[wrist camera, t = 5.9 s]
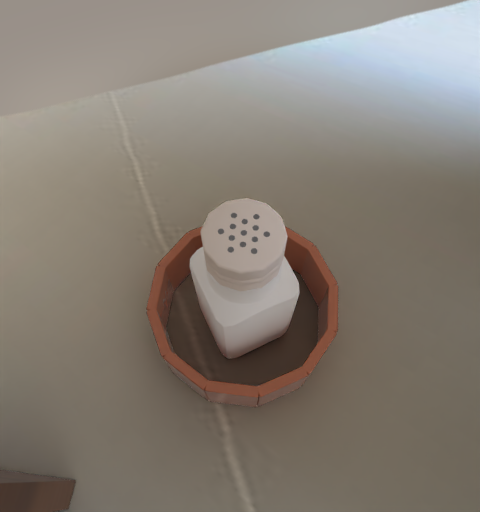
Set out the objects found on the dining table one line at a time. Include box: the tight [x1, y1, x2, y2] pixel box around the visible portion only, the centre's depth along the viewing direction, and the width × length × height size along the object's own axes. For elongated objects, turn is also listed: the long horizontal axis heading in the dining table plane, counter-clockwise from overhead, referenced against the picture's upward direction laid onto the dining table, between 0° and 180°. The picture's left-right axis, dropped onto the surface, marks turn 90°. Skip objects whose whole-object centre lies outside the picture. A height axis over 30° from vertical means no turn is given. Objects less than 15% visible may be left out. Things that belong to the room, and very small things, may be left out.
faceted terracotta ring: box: [146, 226, 338, 407], centre depth 22 cm, size 9×9×3 cm
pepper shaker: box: [190, 198, 299, 359], centre depth 20 cm, size 4×4×10 cm
